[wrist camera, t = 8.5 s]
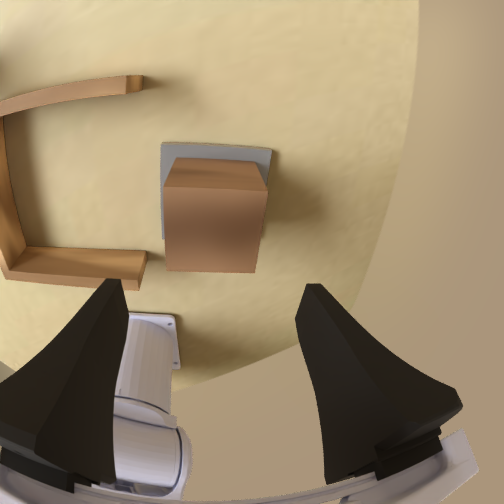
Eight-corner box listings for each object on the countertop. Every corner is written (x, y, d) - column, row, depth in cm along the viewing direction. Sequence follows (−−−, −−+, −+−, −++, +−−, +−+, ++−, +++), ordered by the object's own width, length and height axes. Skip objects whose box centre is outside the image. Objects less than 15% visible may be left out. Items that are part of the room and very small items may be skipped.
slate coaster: (256, 238, 21) (257, 242, 21) (163, 234, 20) (162, 239, 20) (270, 148, 17) (272, 150, 17) (162, 142, 16) (160, 144, 16)
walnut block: (245, 228, 20) (254, 273, 16) (175, 225, 19) (166, 270, 15) (254, 161, 17) (268, 191, 13) (175, 157, 16) (163, 186, 12)
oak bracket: (147, 261, 21) (139, 290, 19) (22, 255, 19) (5, 279, 16) (143, 75, 13) (126, 75, 11) (-6, 104, 11) (-34, 114, 8)
